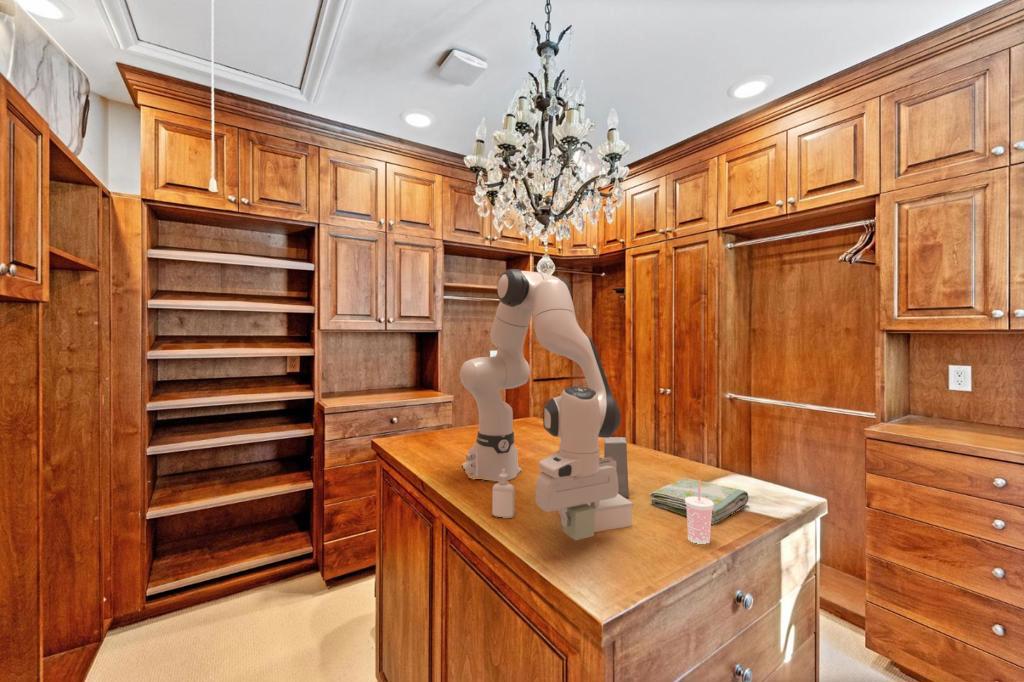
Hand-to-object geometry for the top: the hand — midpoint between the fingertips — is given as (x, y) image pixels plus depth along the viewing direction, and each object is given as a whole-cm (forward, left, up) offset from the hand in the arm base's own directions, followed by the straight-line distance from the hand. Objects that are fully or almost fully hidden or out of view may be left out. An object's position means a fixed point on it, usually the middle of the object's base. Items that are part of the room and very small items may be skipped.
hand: (578, 522), depth 99 cm
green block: (0, 0, -2) cm, 2 cm away
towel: (-4, +43, -6) cm, 44 cm away
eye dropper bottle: (-22, -8, -5) cm, 24 cm away
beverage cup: (+10, +26, -5) cm, 29 cm away
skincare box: (-22, +29, -5) cm, 37 cm away
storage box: (-10, +12, -6) cm, 17 cm away
